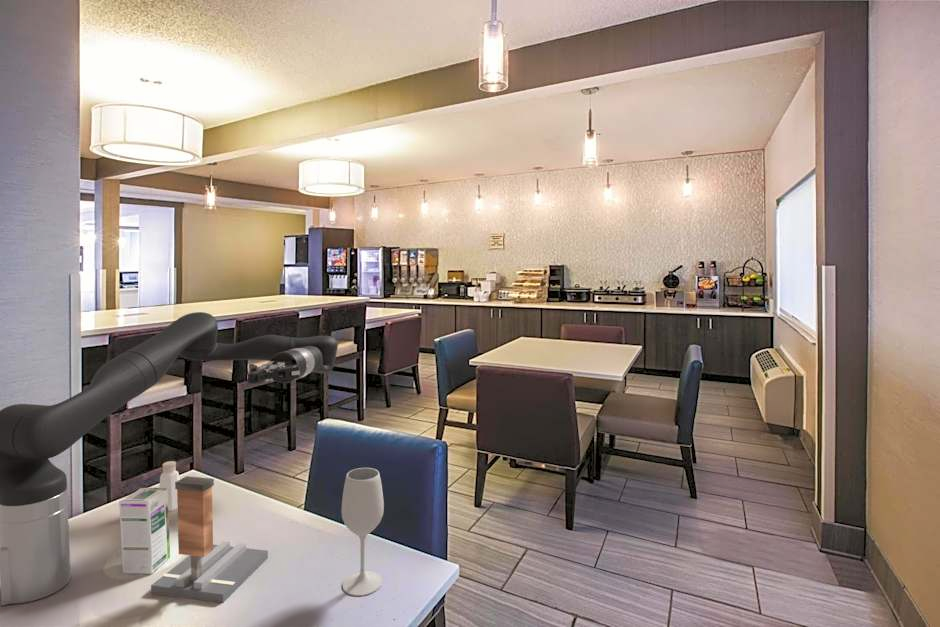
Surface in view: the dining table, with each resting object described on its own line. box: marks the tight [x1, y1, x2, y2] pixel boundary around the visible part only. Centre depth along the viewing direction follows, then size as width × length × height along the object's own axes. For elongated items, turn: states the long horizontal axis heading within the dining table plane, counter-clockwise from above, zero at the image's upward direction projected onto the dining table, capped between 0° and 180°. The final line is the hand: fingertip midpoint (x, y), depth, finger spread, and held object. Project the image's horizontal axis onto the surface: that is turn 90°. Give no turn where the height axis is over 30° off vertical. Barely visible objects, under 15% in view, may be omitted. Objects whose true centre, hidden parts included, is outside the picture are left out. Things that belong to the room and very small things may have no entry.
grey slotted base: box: [150, 541, 269, 604], centre depth 94 cm, size 14×14×3 cm
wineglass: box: [341, 467, 385, 597], centre depth 91 cm, size 8×8×21 cm
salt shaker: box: [158, 460, 181, 512], centre depth 120 cm, size 5×5×11 cm
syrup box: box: [119, 487, 171, 575], centre depth 96 cm, size 6×6×14 cm
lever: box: [175, 475, 215, 581], centre depth 88 cm, size 3×5×18 cm, turn 81°
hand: (251, 378), depth 104 cm, fingers closed
